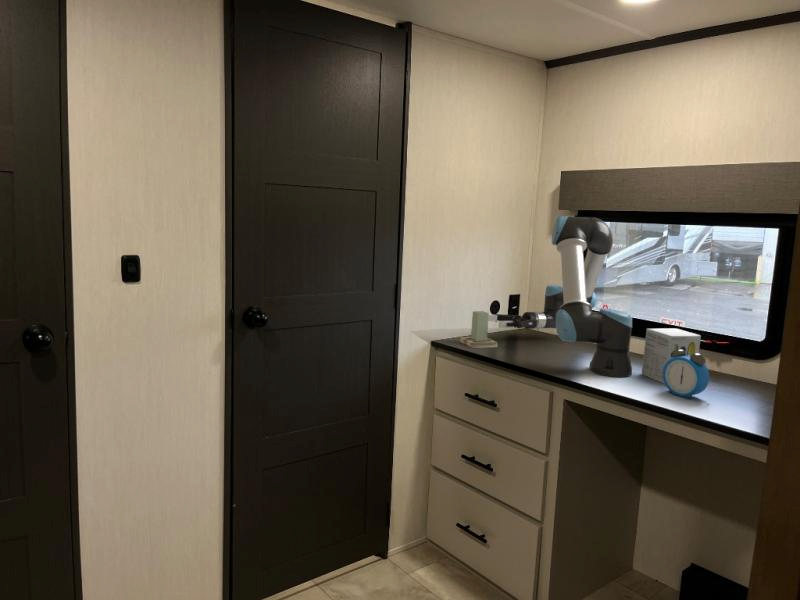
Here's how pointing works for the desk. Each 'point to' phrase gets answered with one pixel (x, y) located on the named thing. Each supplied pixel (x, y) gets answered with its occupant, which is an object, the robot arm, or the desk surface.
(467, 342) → the letter tile
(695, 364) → the alarm clock
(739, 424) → the desk surface
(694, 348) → the supplement box
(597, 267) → the robot arm
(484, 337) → the sage pillar
